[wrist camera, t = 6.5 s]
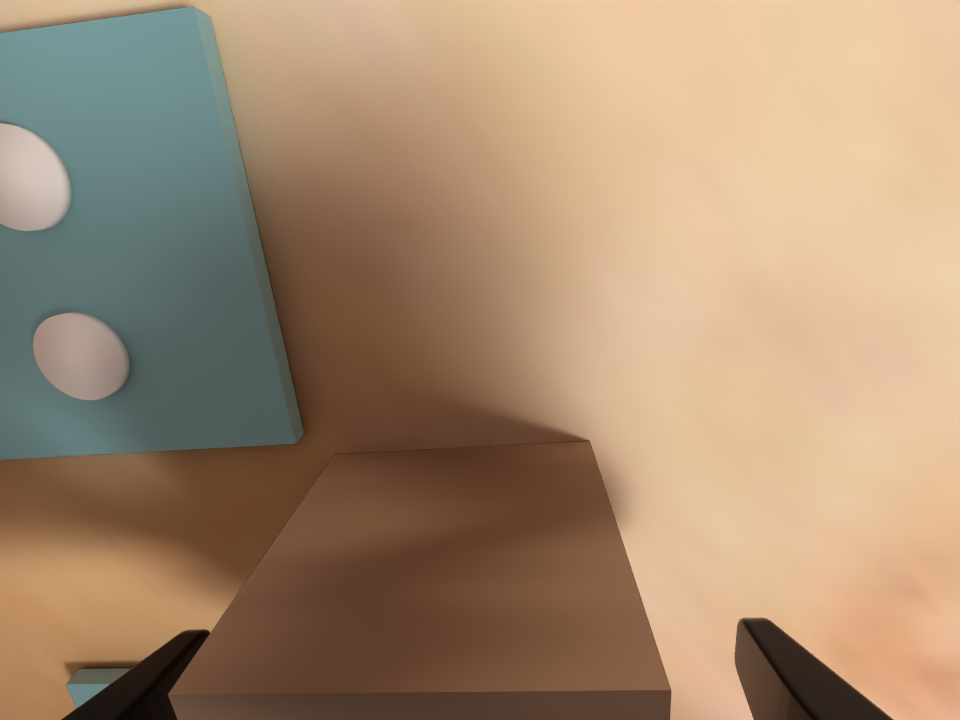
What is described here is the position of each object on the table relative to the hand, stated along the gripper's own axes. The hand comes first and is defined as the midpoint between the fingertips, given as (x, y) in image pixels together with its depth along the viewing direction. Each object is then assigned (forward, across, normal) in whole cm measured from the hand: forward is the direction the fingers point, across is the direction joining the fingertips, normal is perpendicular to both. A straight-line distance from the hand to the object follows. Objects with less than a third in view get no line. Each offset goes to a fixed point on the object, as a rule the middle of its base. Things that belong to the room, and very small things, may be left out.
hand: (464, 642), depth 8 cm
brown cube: (+2, 0, 0) cm, 2 cm away
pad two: (+2, +6, -7) cm, 9 cm away
